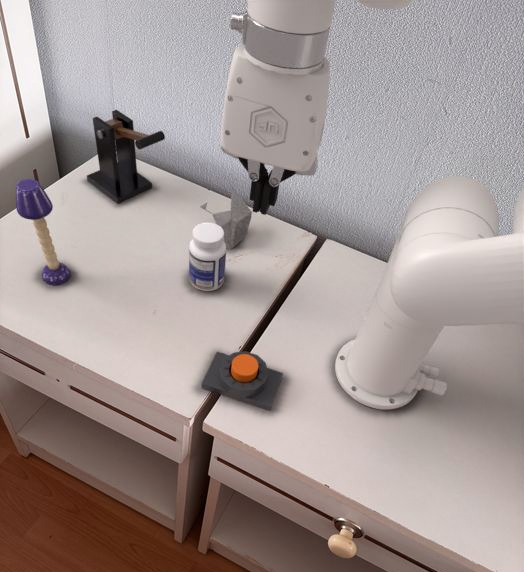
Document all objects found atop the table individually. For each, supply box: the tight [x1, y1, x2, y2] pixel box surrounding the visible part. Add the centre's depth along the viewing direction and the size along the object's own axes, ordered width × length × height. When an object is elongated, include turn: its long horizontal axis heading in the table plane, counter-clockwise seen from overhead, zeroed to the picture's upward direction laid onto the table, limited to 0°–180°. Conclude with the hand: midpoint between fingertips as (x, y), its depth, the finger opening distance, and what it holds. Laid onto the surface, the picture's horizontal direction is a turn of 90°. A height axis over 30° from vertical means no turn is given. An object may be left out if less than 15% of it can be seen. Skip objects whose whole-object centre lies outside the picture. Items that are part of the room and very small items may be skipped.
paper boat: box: [200, 186, 253, 250], centre depth 89 cm, size 12×6×9 cm
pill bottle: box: [188, 221, 227, 292], centre depth 80 cm, size 6×6×10 cm
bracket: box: [86, 109, 153, 205], centre depth 92 cm, size 9×8×13 cm
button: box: [231, 354, 258, 383], centre depth 70 cm, size 4×4×2 cm
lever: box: [104, 118, 166, 150], centre depth 86 cm, size 12×5×2 cm, turn 48°
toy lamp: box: [15, 178, 71, 286], centre depth 74 cm, size 5×5×17 cm
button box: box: [200, 350, 284, 412], centre depth 71 cm, size 10×6×3 cm, turn 73°
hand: (262, 206), depth 61 cm, fingers closed
